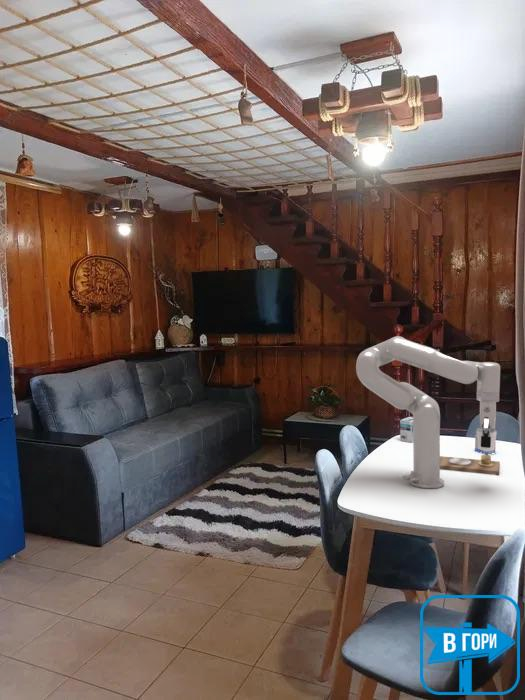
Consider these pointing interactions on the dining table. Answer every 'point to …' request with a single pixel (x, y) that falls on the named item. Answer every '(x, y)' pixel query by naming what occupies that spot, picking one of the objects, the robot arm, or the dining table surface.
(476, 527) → the dining table surface
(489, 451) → the medicine box
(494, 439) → the white short cylinder
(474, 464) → the fitting board
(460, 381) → the robot arm
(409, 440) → the light bulb box
